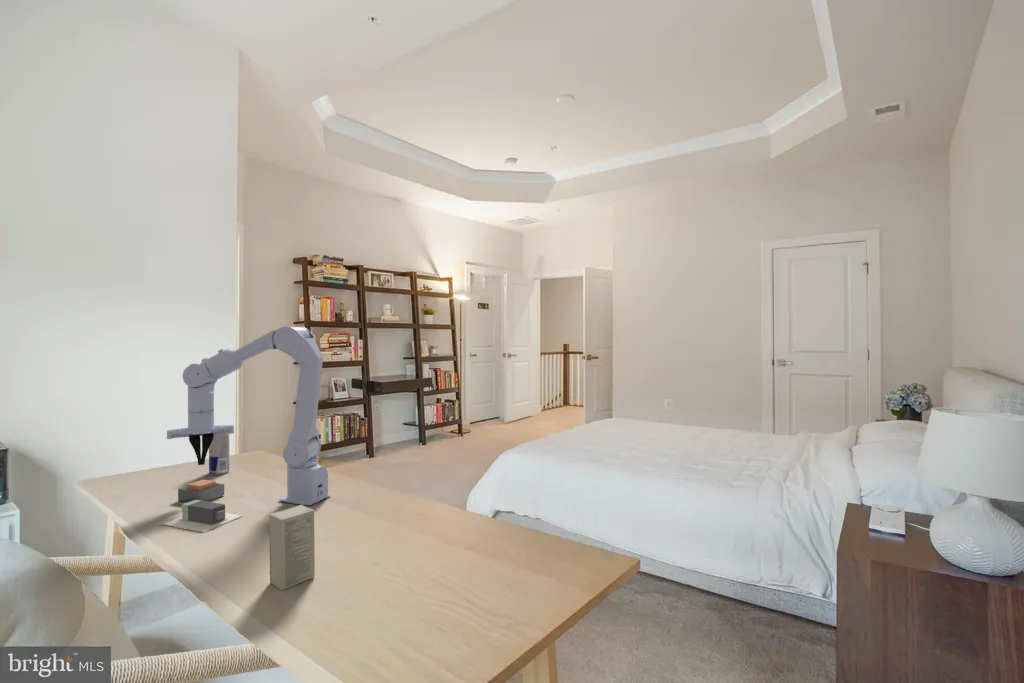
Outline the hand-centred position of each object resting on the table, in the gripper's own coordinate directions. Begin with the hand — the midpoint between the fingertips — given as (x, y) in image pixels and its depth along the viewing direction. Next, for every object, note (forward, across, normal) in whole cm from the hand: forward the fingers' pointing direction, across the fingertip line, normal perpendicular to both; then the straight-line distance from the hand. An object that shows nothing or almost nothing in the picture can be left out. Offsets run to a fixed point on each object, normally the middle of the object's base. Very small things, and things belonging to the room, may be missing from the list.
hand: (201, 464), depth 133 cm
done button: (+7, 0, 0) cm, 7 cm away
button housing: (+9, 0, 0) cm, 9 cm away
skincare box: (+9, -12, +58) cm, 60 cm away
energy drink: (+9, -5, -24) cm, 26 cm away
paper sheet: (+9, 0, +18) cm, 20 cm away
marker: (+8, 0, +18) cm, 20 cm away
